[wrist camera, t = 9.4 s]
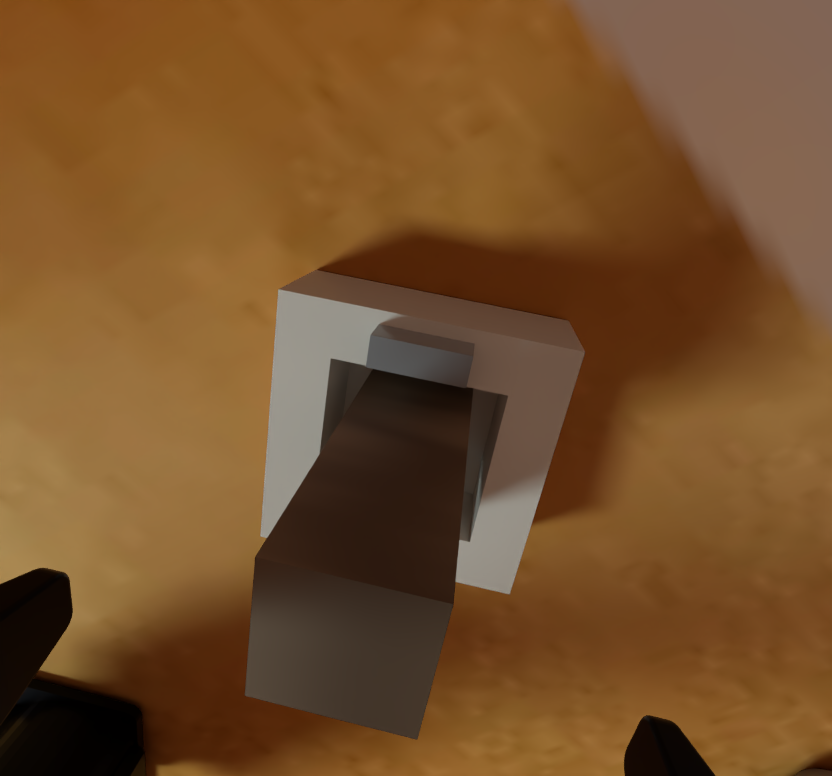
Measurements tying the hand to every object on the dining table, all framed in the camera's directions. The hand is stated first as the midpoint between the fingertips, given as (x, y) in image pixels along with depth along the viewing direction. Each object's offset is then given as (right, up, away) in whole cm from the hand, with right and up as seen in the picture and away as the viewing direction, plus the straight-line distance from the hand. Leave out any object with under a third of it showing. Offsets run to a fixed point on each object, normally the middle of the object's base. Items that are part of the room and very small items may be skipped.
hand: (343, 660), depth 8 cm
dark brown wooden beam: (+1, +3, +9) cm, 9 cm away
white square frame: (+1, +3, +9) cm, 10 cm away
